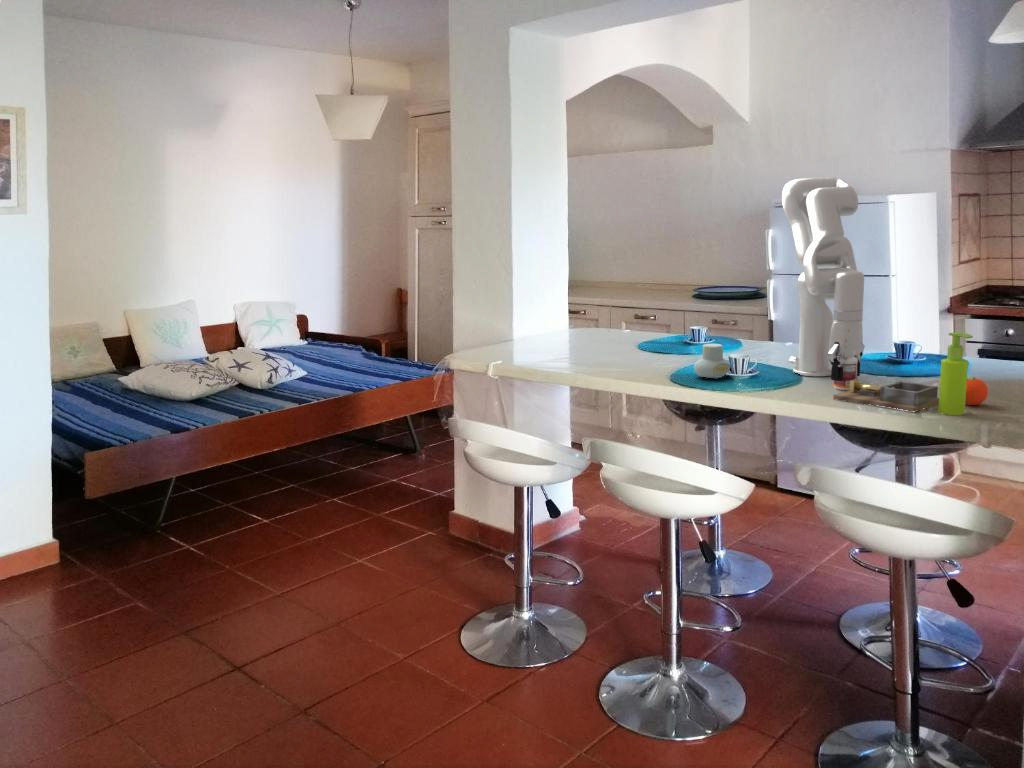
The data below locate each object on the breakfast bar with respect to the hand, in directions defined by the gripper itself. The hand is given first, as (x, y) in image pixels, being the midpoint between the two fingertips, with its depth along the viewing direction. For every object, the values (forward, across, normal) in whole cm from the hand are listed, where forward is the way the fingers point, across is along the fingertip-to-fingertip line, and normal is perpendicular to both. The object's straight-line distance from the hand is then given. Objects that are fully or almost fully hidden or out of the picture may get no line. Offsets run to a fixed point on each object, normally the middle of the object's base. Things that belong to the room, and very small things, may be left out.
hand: (845, 377), depth 253 cm
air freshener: (+3, +12, -37) cm, 39 cm away
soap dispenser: (+3, +8, +34) cm, 35 cm away
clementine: (+3, -3, +33) cm, 33 cm away
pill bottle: (+3, 0, 0) cm, 3 cm away
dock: (+3, +7, +16) cm, 18 cm away
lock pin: (+2, +7, +11) cm, 13 cm away
